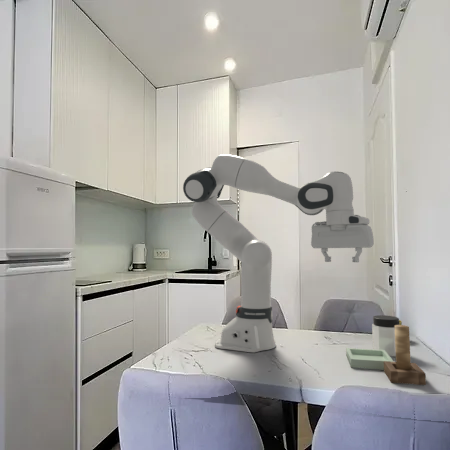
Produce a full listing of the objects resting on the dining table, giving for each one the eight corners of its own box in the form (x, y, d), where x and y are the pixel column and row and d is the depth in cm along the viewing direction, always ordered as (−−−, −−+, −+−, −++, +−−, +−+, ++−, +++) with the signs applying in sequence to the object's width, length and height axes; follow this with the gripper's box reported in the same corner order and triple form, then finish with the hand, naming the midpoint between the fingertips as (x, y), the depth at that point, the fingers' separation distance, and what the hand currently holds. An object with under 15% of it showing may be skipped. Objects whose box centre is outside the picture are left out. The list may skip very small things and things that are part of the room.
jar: (391, 358, 112) (389, 320, 113) (368, 352, 119) (367, 316, 120) (406, 353, 117) (404, 317, 118) (383, 348, 124) (382, 314, 125)
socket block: (391, 382, 92) (390, 371, 92) (384, 371, 100) (383, 361, 100) (426, 385, 90) (425, 373, 90) (415, 373, 98) (415, 363, 98)
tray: (351, 367, 103) (350, 359, 104) (346, 355, 115) (346, 347, 115) (394, 370, 101) (394, 361, 101) (384, 357, 112) (384, 350, 113)
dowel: (398, 380, 93) (396, 327, 94) (395, 375, 97) (393, 324, 98) (413, 381, 93) (410, 328, 94) (409, 376, 96) (406, 325, 97)
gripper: (307, 221, 119) (308, 261, 118) (367, 217, 106) (369, 262, 105) (315, 222, 124) (317, 261, 123) (374, 218, 110) (376, 262, 109)
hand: (341, 262), depth 114 cm, fingers open, 8 cm apart
